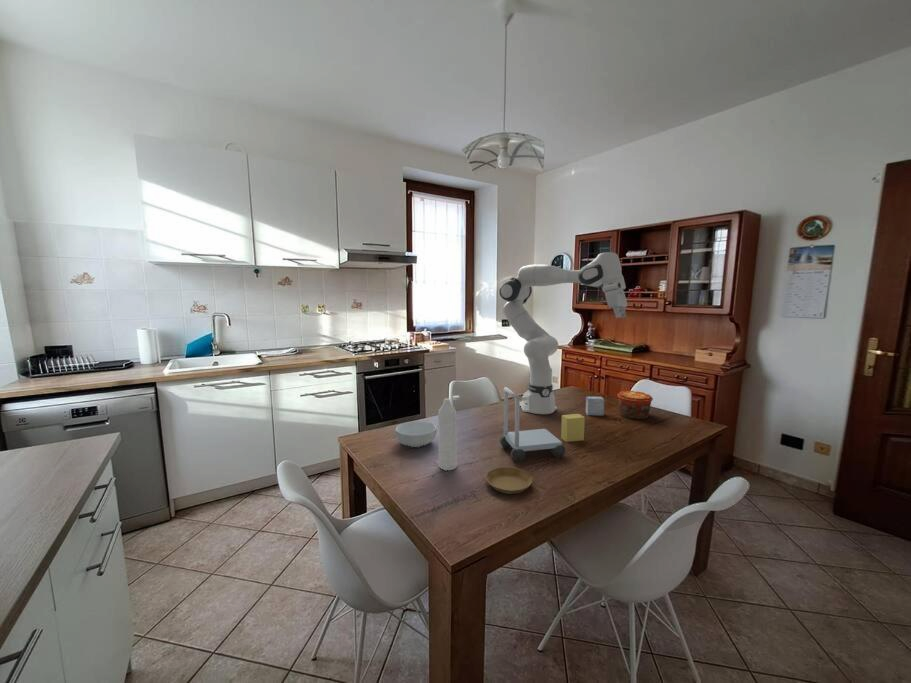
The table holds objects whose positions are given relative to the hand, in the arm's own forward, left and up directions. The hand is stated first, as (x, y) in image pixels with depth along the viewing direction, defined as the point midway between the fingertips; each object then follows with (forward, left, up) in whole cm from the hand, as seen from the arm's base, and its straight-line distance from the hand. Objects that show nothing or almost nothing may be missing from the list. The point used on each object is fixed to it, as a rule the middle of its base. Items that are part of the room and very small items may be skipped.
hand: (621, 317), depth 160 cm
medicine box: (-17, 0, -51) cm, 53 cm away
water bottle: (+21, -82, -50) cm, 98 cm away
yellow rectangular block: (+9, -27, -50) cm, 58 cm away
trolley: (+17, -49, -50) cm, 72 cm away
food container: (-11, +18, -51) cm, 55 cm away
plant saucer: (+38, -66, -51) cm, 91 cm away
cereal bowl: (-1, -92, -51) cm, 105 cm away
